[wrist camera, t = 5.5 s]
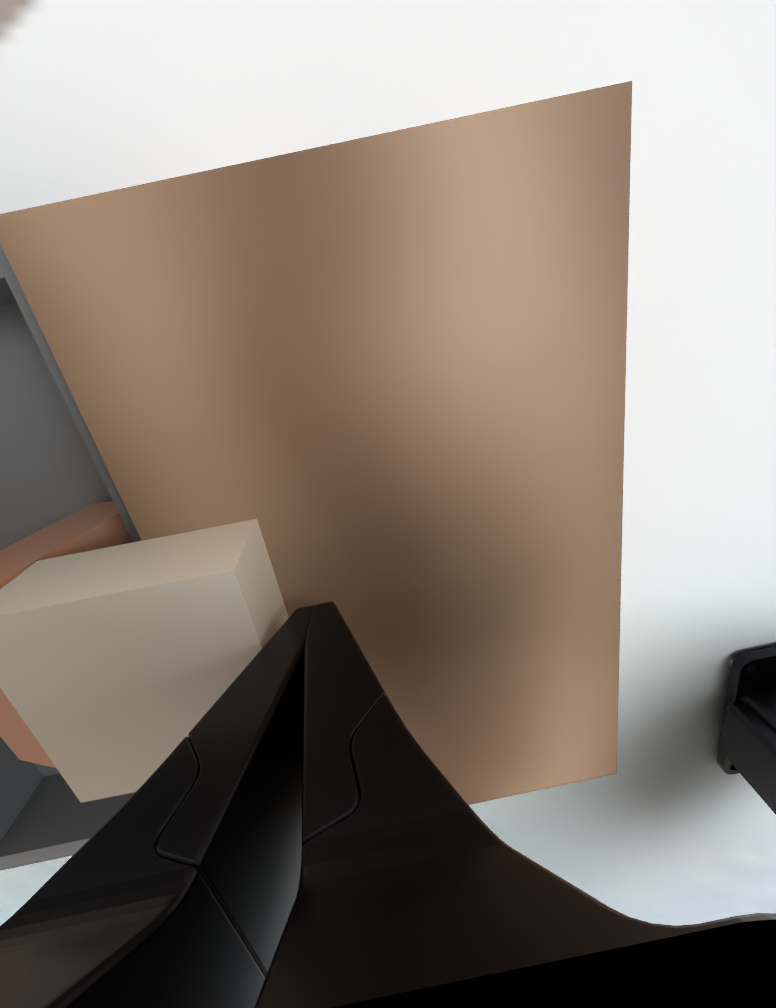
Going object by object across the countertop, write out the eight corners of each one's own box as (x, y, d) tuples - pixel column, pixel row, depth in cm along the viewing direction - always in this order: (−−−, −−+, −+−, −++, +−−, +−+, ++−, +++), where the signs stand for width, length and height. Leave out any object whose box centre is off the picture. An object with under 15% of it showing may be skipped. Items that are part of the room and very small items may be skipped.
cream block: (256, 518, 9) (233, 569, 7) (309, 683, 11) (302, 758, 9) (37, 560, 9) (-45, 624, 7) (127, 719, 11) (80, 802, 9)
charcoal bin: (108, 255, 10) (20, 231, 8) (294, 729, 17) (283, 810, 14) (-300, 341, 10) (-536, 349, 8) (41, 782, 17) (-20, 874, 14)
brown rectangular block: (531, 165, 10) (632, 81, 7) (557, 673, 17) (616, 773, 13) (115, 253, 10) (-12, 217, 7) (299, 727, 17) (285, 843, 13)
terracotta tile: (-49, 607, 8) (-108, 605, 8) (77, 772, 10) (19, 759, 10) (145, 497, 12) (93, 502, 12) (209, 630, 13) (160, 628, 14)
